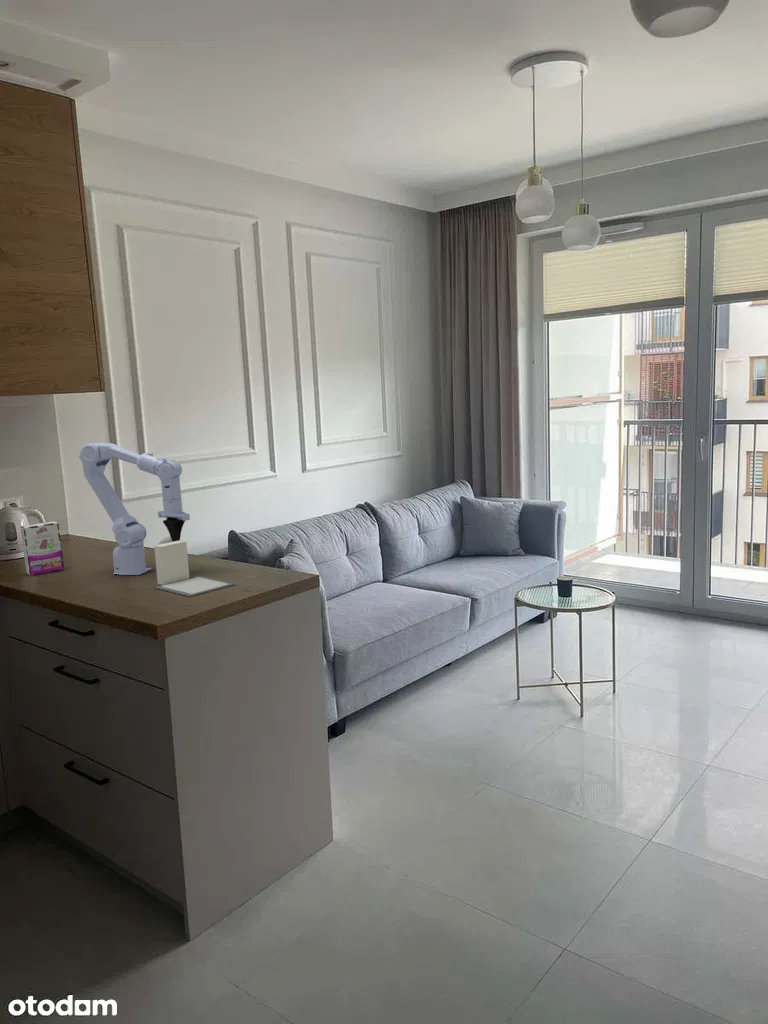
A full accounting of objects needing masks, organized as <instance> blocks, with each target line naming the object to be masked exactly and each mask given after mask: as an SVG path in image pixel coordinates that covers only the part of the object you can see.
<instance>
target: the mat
mask: <svg viewBox="0 0 768 1024" xmlns="http://www.w3.org/2000/svg"><path fill="white" fill-rule="evenodd" d="M189 578H190V579H185V580H181V581H177V582H173V583H169V584H165V585H157V586H154V589H155V588H156V590H159V589H160V591H163V590H164V592H167V591H168V593H171V592H172V593H171V594H175V593H176V595H179V594H181V595H180V596H183V595H185V596H184V597H187V596H192V597H195V596H194V595H196V596H199V595H198V594H200V595H203V594H202V593H204V594H207V593H210V591H211V592H214V591H213V590H215V591H218V589H219V590H222V589H226V588H229V586H230V587H232V585H233V586H236V583H234V582H229V581H225V580H222V579H221V580H220V579H217V578H211V577H206V576H201V575H198V576H194V577H189ZM225 587H226V588H225ZM206 592H207V593H206Z"/></svg>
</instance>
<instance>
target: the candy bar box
mask: <svg viewBox="0 0 768 1024" xmlns="http://www.w3.org/2000/svg"><path fill="white" fill-rule="evenodd" d="M19 530H20V534H21V543H22V549H23V557H24V563H25V570H26V571H25V572H26V574H27V575H29V576H30V577H31V576H36V575H37V576H38V575H42V574H43V575H44V574H49V573H53V572H59V570H60V571H64V570H65V563H64V556H63V555H64V554H63V548H62V542H61V540H62V539H61V534H60V533H61V531H60V524H59V522H57V521H49V522H48V521H47V522H40V523H35V524H28V525H21V526H20V529H19Z"/></svg>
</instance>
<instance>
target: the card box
mask: <svg viewBox="0 0 768 1024" xmlns="http://www.w3.org/2000/svg"><path fill="white" fill-rule="evenodd" d="M180 540H181V539H180ZM180 540H179V541H174V542H170V543H165V544H160V545H158V544H156V545H153V546H154V547H153V549H154V557H155V569H156V579H157V585H159V584H161V585H165V584H169V583H173V582H177V581H181V580H185V579H189V578H190V568H189V556H188V545H187V541H186V540H181V541H180ZM161 585H160V586H161Z"/></svg>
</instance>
